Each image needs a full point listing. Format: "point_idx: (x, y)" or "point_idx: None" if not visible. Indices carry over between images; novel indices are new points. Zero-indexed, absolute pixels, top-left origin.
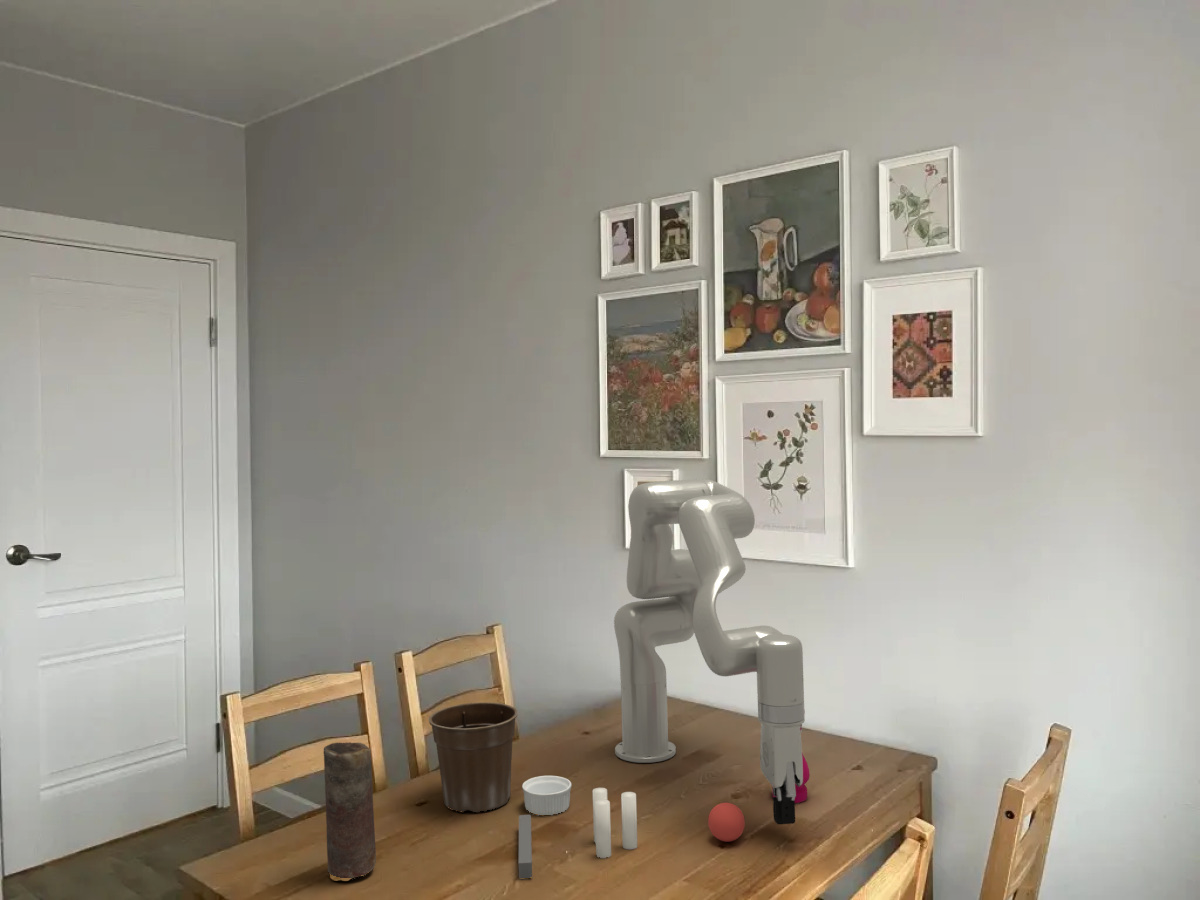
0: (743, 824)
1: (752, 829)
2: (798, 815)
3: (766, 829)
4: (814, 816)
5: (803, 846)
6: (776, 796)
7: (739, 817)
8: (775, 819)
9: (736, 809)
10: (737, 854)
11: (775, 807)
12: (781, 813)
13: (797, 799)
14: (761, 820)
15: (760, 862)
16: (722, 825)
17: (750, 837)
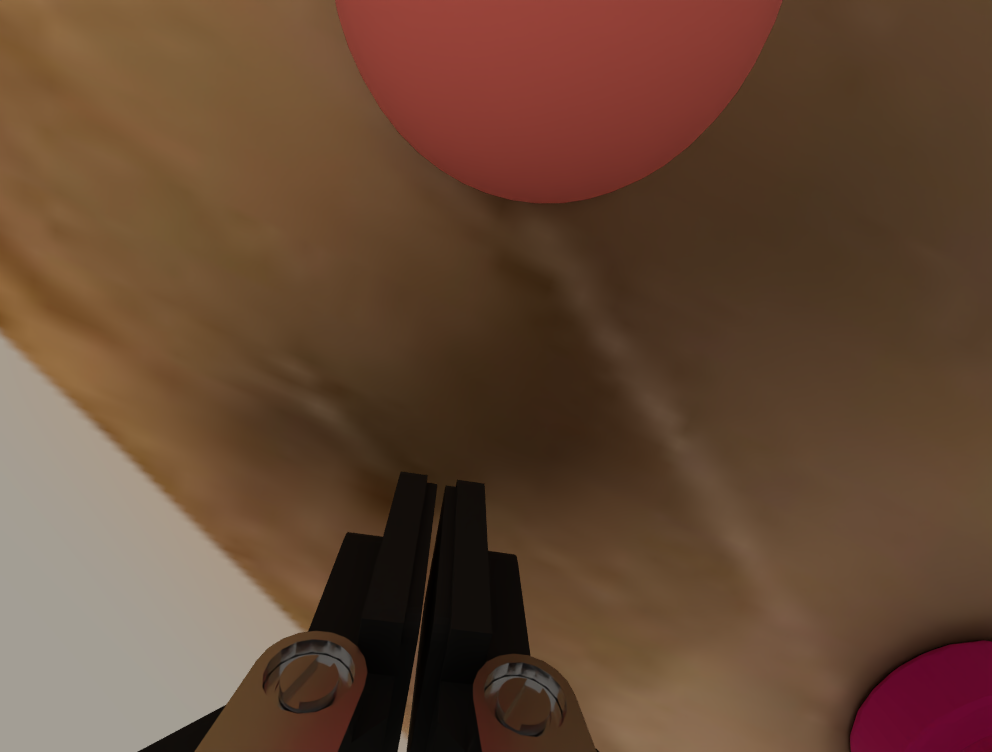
0: (407, 139)
1: (634, 328)
2: (700, 668)
3: (595, 419)
4: (648, 733)
5: (278, 529)
6: (974, 663)
7: (375, 57)
8: (417, 485)
9: (455, 24)
10: (248, 13)
11: (385, 556)
12: (342, 563)
13: (865, 746)
14: (740, 446)
15: (74, 144)
16: None
17: (514, 257)
